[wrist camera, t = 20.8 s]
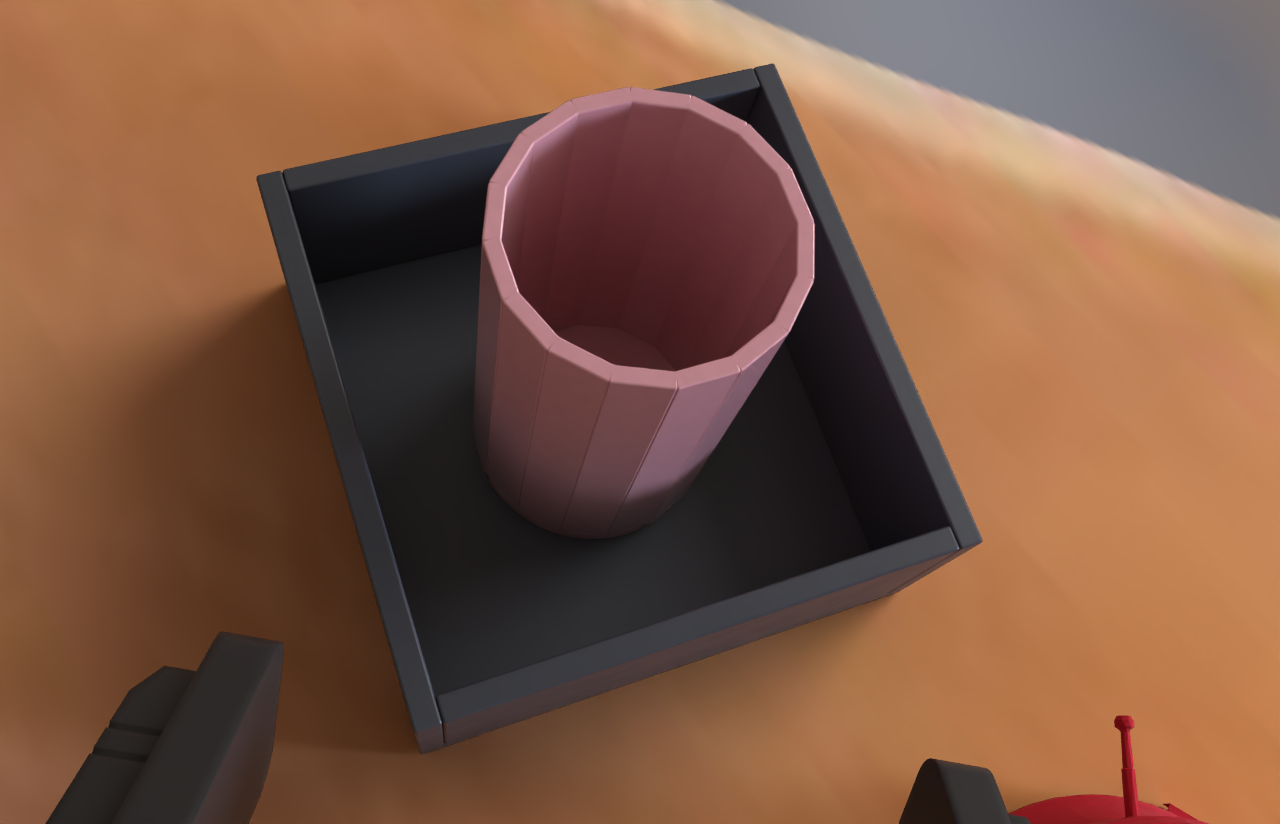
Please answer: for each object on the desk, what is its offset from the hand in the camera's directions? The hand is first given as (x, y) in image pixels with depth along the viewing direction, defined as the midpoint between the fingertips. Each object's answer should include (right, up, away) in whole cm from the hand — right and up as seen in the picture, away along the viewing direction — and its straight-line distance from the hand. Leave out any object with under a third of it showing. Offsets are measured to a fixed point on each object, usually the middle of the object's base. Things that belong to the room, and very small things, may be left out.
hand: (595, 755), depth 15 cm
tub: (-1, +4, +18) cm, 18 cm away
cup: (-1, +4, +17) cm, 18 cm away
